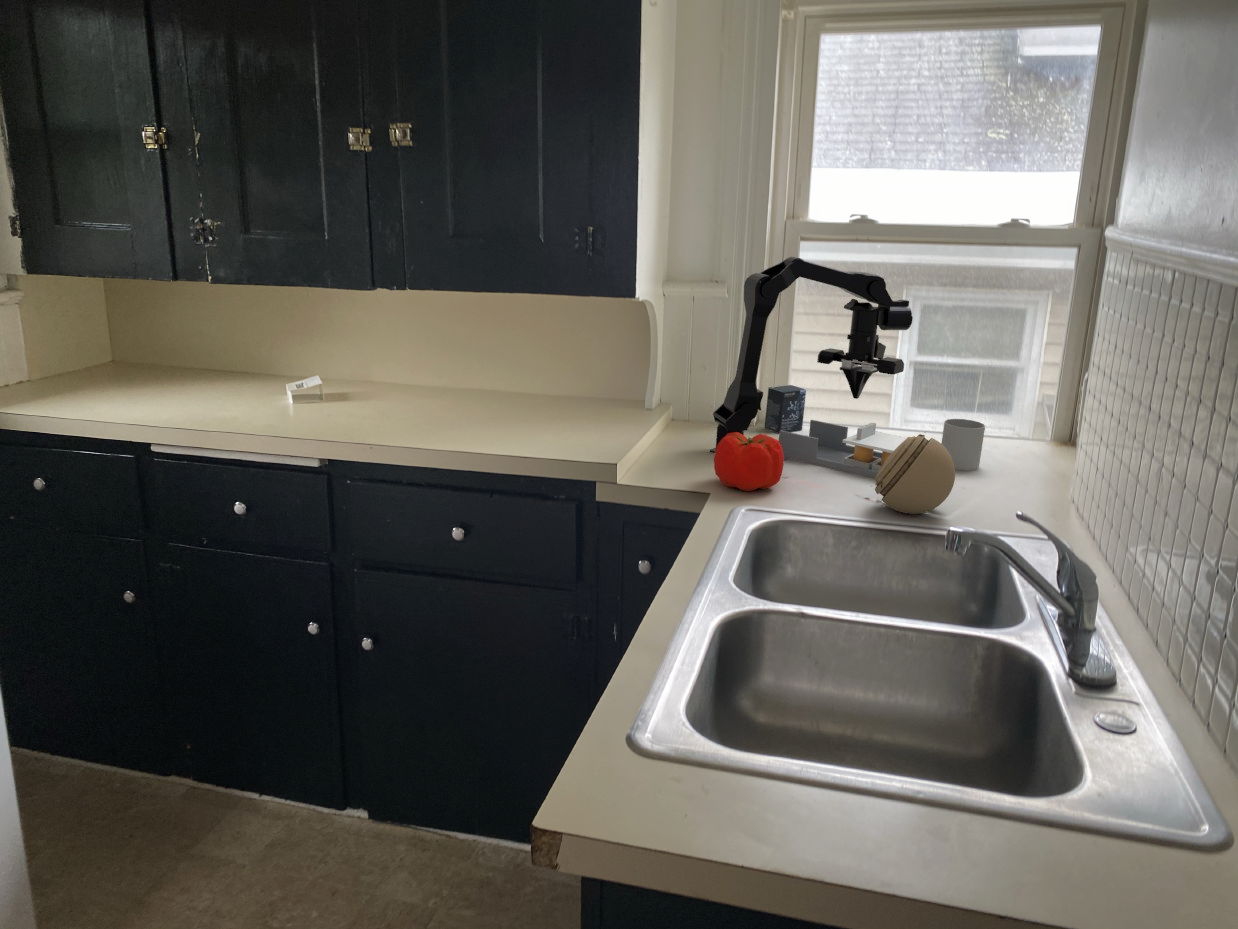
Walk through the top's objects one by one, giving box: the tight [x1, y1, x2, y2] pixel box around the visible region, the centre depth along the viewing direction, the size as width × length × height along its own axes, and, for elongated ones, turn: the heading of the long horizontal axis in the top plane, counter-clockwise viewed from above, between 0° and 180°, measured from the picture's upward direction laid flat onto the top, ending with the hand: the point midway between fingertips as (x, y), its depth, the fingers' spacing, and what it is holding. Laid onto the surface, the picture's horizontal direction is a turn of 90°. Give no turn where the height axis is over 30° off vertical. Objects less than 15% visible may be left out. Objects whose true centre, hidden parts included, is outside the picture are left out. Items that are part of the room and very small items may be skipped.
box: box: [764, 384, 807, 434], centre depth 236 cm, size 8×6×11 cm
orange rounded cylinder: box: [853, 445, 875, 463], centre depth 208 cm, size 4×4×5 cm
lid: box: [842, 422, 909, 453], centre depth 204 cm, size 13×12×3 cm
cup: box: [940, 418, 986, 471], centre depth 210 cm, size 8×8×10 cm
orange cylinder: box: [881, 451, 892, 466], centre depth 204 cm, size 4×4×5 cm
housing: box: [778, 419, 882, 479], centre depth 210 cm, size 15×26×6 cm, turn 51°
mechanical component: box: [874, 433, 956, 515], centre depth 179 cm, size 15×15×15 cm
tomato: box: [713, 432, 785, 492], centre depth 191 cm, size 14×13×10 cm
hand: (856, 398), depth 219 cm, fingers closed
